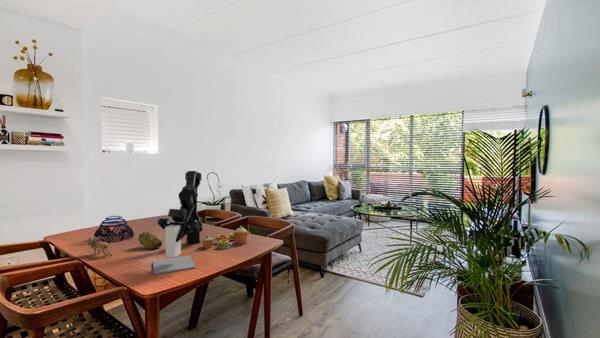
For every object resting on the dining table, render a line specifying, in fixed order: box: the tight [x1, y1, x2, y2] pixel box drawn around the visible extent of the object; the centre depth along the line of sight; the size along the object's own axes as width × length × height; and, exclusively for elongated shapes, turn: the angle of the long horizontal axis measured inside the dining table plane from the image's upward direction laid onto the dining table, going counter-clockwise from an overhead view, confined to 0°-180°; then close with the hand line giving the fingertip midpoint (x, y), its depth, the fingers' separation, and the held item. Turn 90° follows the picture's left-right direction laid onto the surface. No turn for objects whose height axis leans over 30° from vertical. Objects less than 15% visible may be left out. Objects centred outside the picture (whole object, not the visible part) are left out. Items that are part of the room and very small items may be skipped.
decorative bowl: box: [93, 212, 135, 244], centre depth 176 cm, size 20×20×14 cm
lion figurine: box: [85, 235, 113, 259], centre depth 146 cm, size 15×5×9 cm, turn 73°
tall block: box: [164, 225, 182, 258], centre depth 133 cm, size 4×4×13 cm
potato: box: [137, 231, 163, 250], centre depth 158 cm, size 8×13×8 cm, turn 56°
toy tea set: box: [201, 225, 251, 250], centre depth 165 cm, size 26×16×10 cm, turn 141°
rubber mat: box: [152, 255, 196, 276], centre depth 133 cm, size 16×16×1 cm
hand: (171, 241), depth 131 cm, fingers closed on tall block, 4 cm apart
